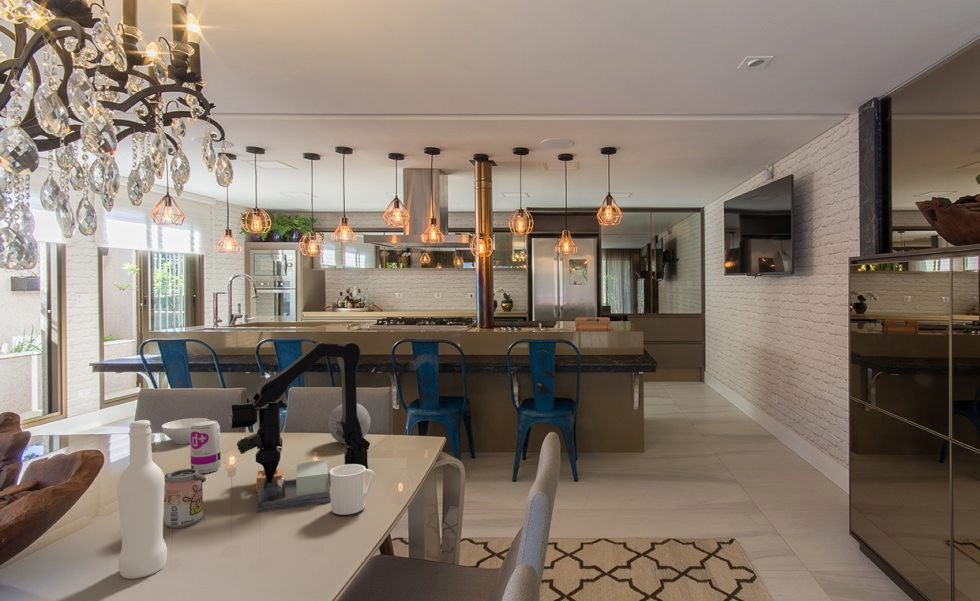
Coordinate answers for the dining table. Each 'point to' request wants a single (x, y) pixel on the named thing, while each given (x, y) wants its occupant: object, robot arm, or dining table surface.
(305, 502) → the housing base
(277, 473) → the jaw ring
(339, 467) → the mug
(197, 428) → the supplement can
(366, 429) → the decorative ball
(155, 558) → the bottle
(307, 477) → the housing cover
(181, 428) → the bowl
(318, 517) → the dining table surface
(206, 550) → the dining table surface
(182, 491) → the pink grey lidded container
